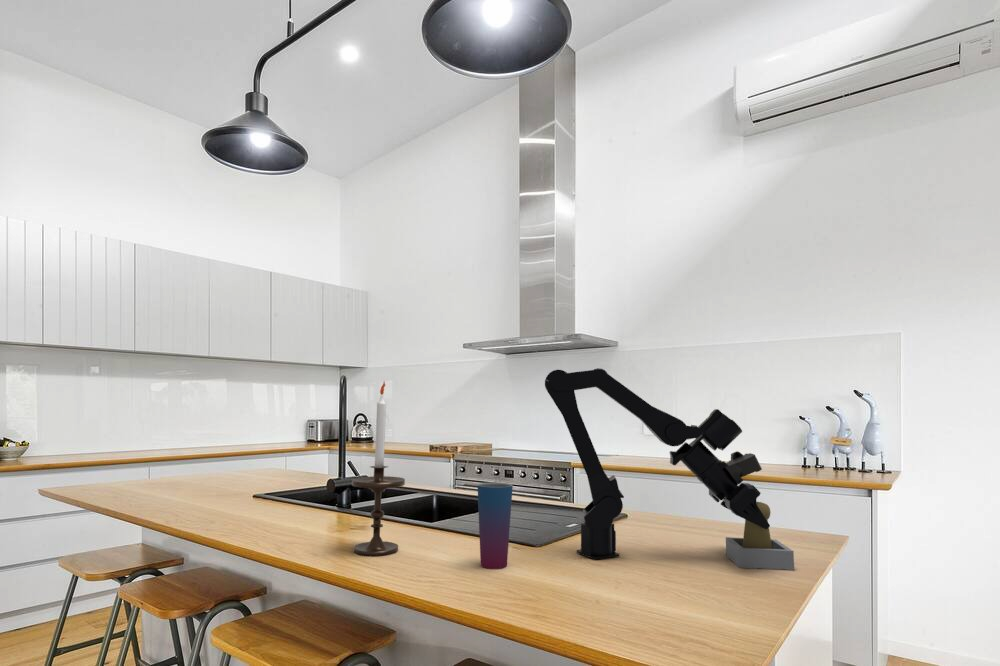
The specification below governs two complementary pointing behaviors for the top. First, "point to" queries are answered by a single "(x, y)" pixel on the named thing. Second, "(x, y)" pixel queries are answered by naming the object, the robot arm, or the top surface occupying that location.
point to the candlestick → (378, 490)
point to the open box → (760, 555)
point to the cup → (494, 523)
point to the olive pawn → (757, 531)
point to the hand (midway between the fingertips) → (763, 524)
